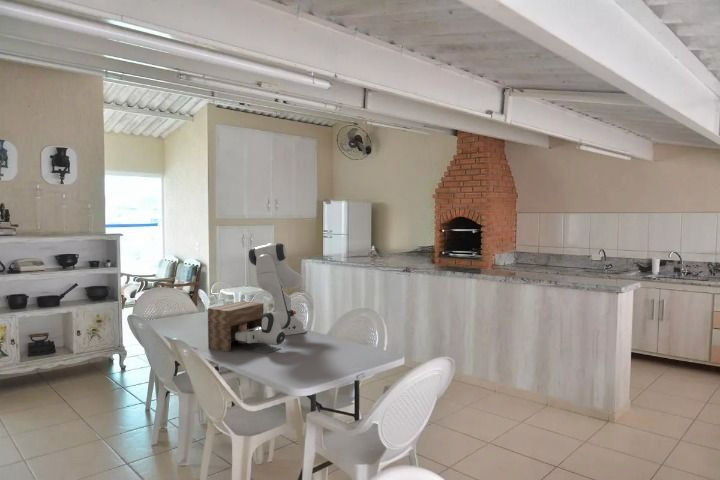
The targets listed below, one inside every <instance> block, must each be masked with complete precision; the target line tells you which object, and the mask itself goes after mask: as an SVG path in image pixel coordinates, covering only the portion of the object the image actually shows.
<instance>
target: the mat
mask: <svg viewBox="0 0 720 480" xmlns="http://www.w3.org/2000/svg"><path fill="white" fill-rule="evenodd" d="M281 349H282V348H281V347H275V346H272V345H270V346H269V345H262V346H260V347H256V348H253V349H250V350H249V352H253V353H260V354H265V355H268V354H271V353H273V352H276V351H279V350H281Z"/></svg>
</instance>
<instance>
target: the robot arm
mask: <svg viewBox="0 0 720 480" xmlns="http://www.w3.org/2000/svg"><path fill="white" fill-rule="evenodd" d="M287 254H288V252H287V248H286V246H285V244H283V243H280V242H278V243H277V242H276V243H275V242H270V243H266V244H264V245H259V246H254V247H251V248H249V251H248V260H249V262H250V264H252V265H253V266H255V273H256V281H257V285H258V287H259V288H261V289H262V290H264V291H266V292H268V293H269V294H270V295H271V297H272V300H273V301H272V303H273V304H272V305H273V309H272V311H266V312H264V314H263V316H262V318H261V327H259V326H257V327H255V328H252V329H247V330H244V331H241V332H240V331H237V332H236V333H235V339H236V340H237V341H238V340H239V341H243V342H246V344H254V343H255V344H256V343H257V344H266V345H268V346H269V345H270V346H279V345H282V343H283V342H284V341H285V339H286V336H291V335H297V334H298V335H299V334H303V333H307V331H308V330H307V328H305V327H304V324H303V322H302V320H301V319H299V318H298V317H297V316H295V315H296V314H297V311H296V310H293V309H292V298H291V296H290V295H289V294H287V293H286V292H285V291H284V289H285V290H287V289H288V290H293V289H298V288H300V286H301V285H302V283H303V278H302V276H301V274H300V272H298V271H296V270H293V269H292V268H291V267H290V266H289V265H288V264H287V262H286V261H285V260H286V258H287Z"/></svg>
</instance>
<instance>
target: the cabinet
mask: <svg viewBox="0 0 720 480" xmlns="http://www.w3.org/2000/svg"><path fill="white" fill-rule="evenodd" d="M264 313H265V312H264V303H261V302H255V301H247V300H246V301H245V300H240V301H237V302H232V303H226V304H221V305H217V306H213V307H208V308H207V343H208V345H207V347H208V349H211V350H216V351H222V352H226V353H231V352H232V343H233V342H238V340H236V339H235V333H236V332H237V331H238V324H241V323H245V322H246V323H247V329H252V328H255V327H257V326H259V327H261V318H262V316H263V314H264Z"/></svg>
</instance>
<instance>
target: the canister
mask: <svg viewBox="0 0 720 480" xmlns="http://www.w3.org/2000/svg"><path fill="white" fill-rule="evenodd" d="M244 330H247V323H246V322H245V323H241V324H238V331H240V332H241V331H244ZM237 343H238V344H247V342H243V341H239V340H237Z"/></svg>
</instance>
